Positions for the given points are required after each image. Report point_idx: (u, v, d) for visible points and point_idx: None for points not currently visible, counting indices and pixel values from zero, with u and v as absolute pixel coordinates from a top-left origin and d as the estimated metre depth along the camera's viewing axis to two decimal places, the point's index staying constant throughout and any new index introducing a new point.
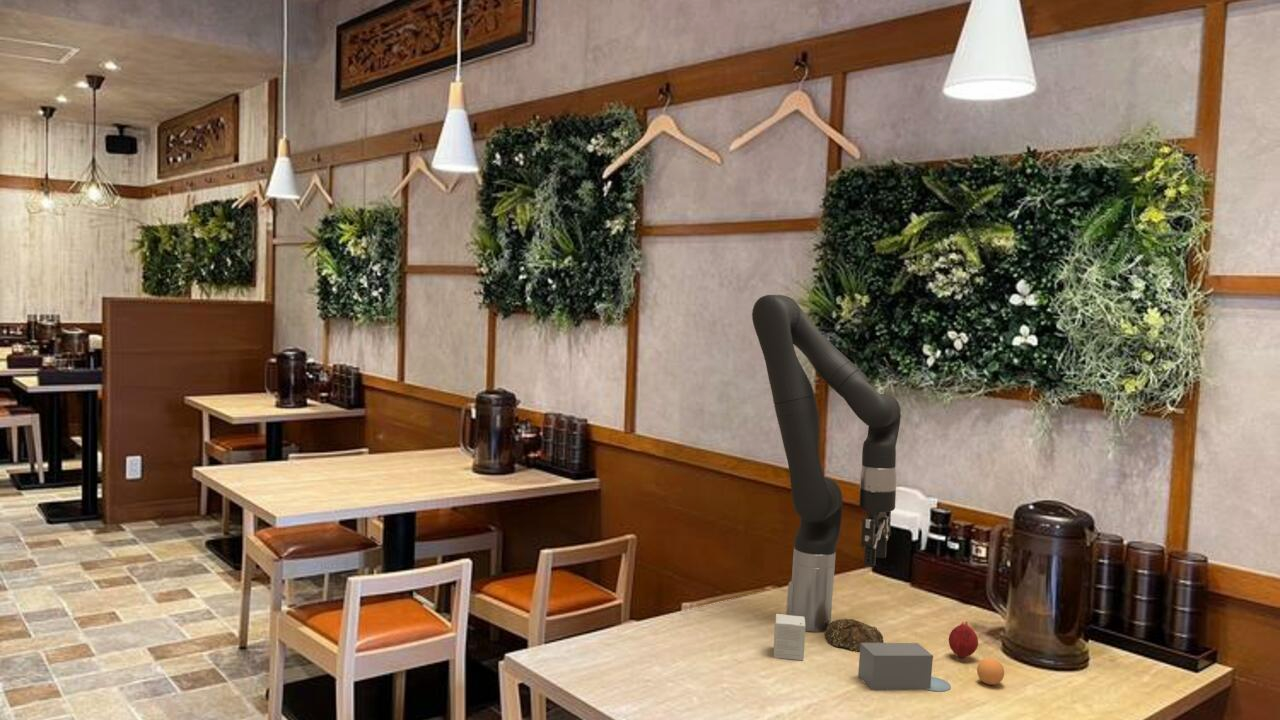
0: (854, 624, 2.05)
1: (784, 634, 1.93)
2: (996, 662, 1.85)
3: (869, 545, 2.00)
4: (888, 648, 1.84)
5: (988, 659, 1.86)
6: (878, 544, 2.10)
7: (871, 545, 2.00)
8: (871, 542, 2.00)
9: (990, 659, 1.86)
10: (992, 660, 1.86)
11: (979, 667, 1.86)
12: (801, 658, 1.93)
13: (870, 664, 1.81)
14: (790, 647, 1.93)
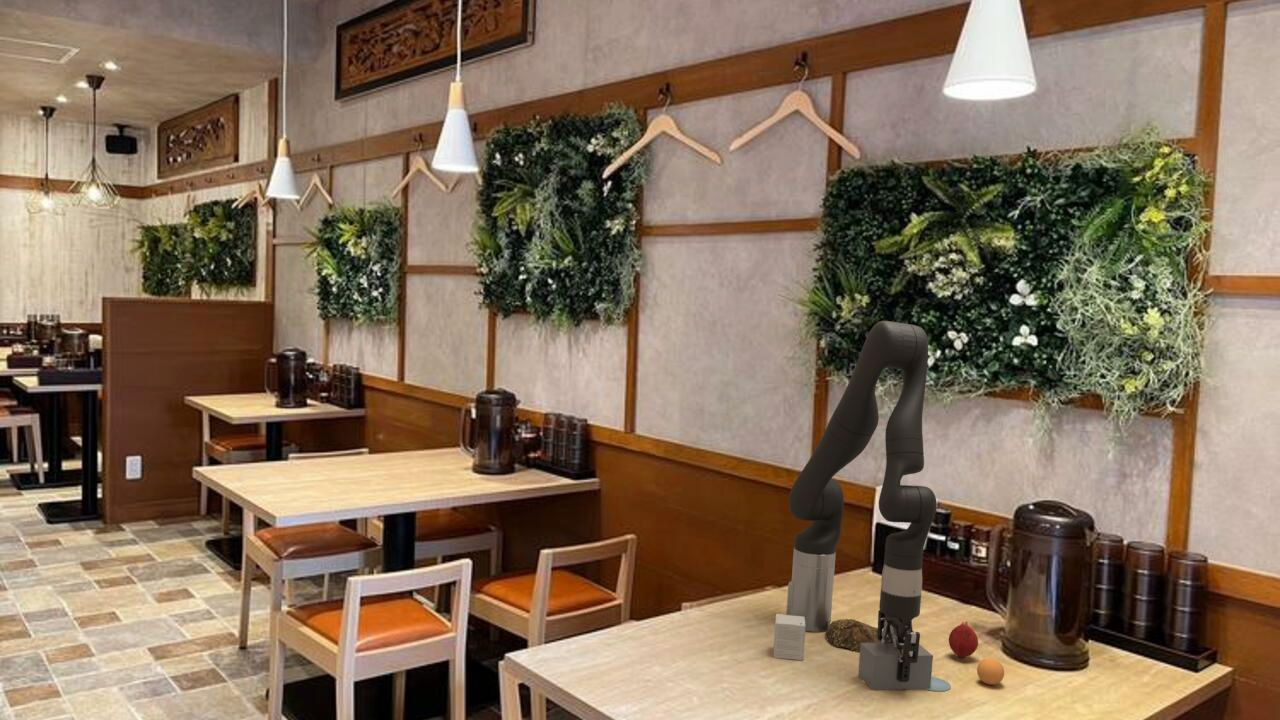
0: (855, 624, 2.05)
1: (784, 634, 1.93)
2: (996, 662, 1.85)
3: None
4: (888, 648, 1.84)
5: (988, 659, 1.86)
6: None
7: None
8: None
9: (990, 659, 1.86)
10: (992, 660, 1.86)
11: (979, 667, 1.86)
12: (801, 658, 1.93)
13: (870, 664, 1.81)
14: (790, 647, 1.93)
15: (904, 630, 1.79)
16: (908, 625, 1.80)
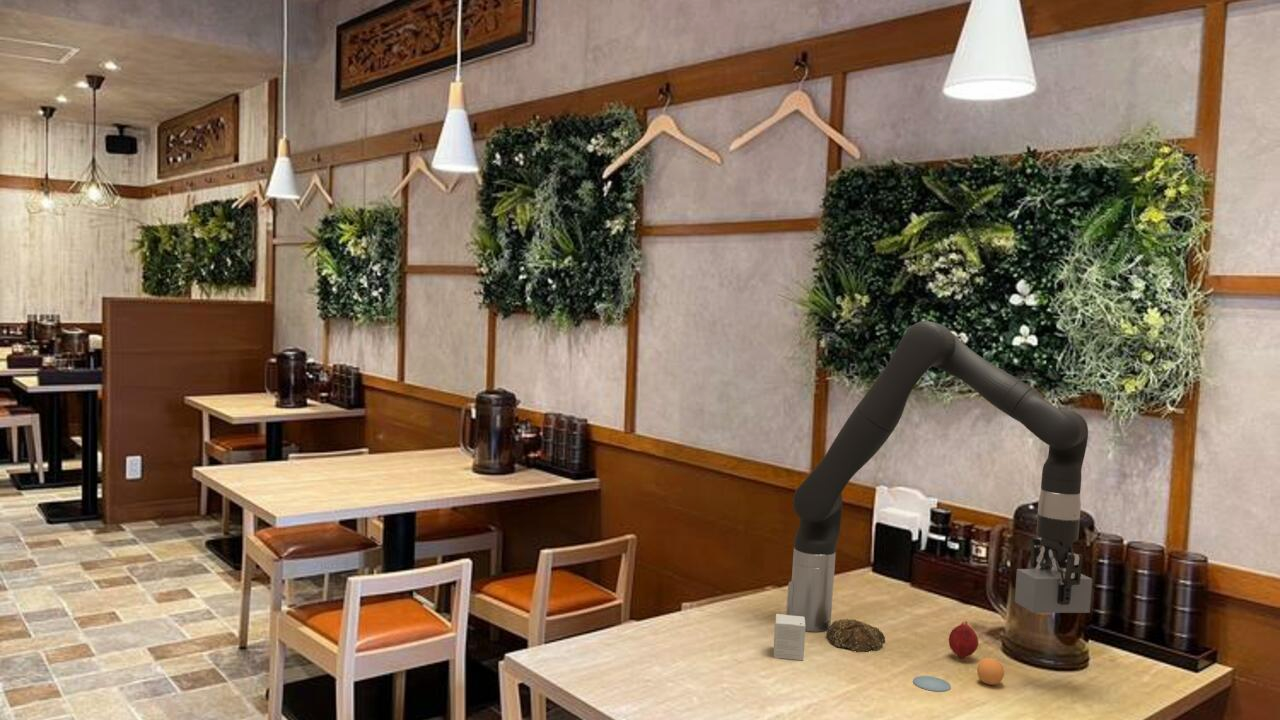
0: (856, 624, 2.05)
1: (784, 634, 1.93)
2: (996, 662, 1.85)
3: None
4: (1046, 573, 1.87)
5: (988, 659, 1.86)
6: None
7: None
8: None
9: (990, 659, 1.86)
10: (992, 660, 1.86)
11: (979, 667, 1.86)
12: (801, 658, 1.93)
13: (1030, 588, 1.84)
14: (790, 647, 1.93)
15: (1065, 553, 1.82)
16: (1069, 548, 1.83)
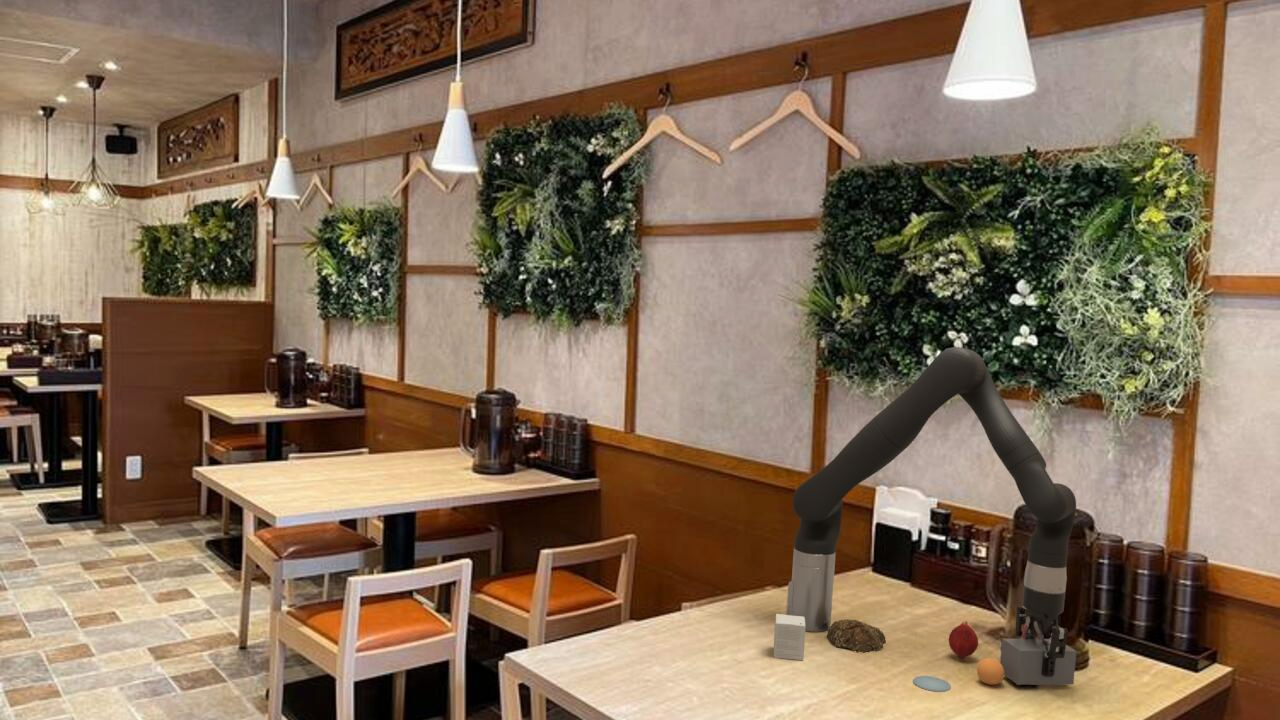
0: (857, 625, 2.05)
1: (784, 634, 1.93)
2: (996, 662, 1.85)
3: None
4: (1031, 644, 1.88)
5: (988, 659, 1.86)
6: None
7: None
8: None
9: (990, 659, 1.86)
10: (992, 660, 1.86)
11: (979, 667, 1.86)
12: (801, 658, 1.93)
13: (1015, 659, 1.85)
14: (790, 647, 1.93)
15: (1050, 626, 1.84)
16: (1054, 621, 1.84)
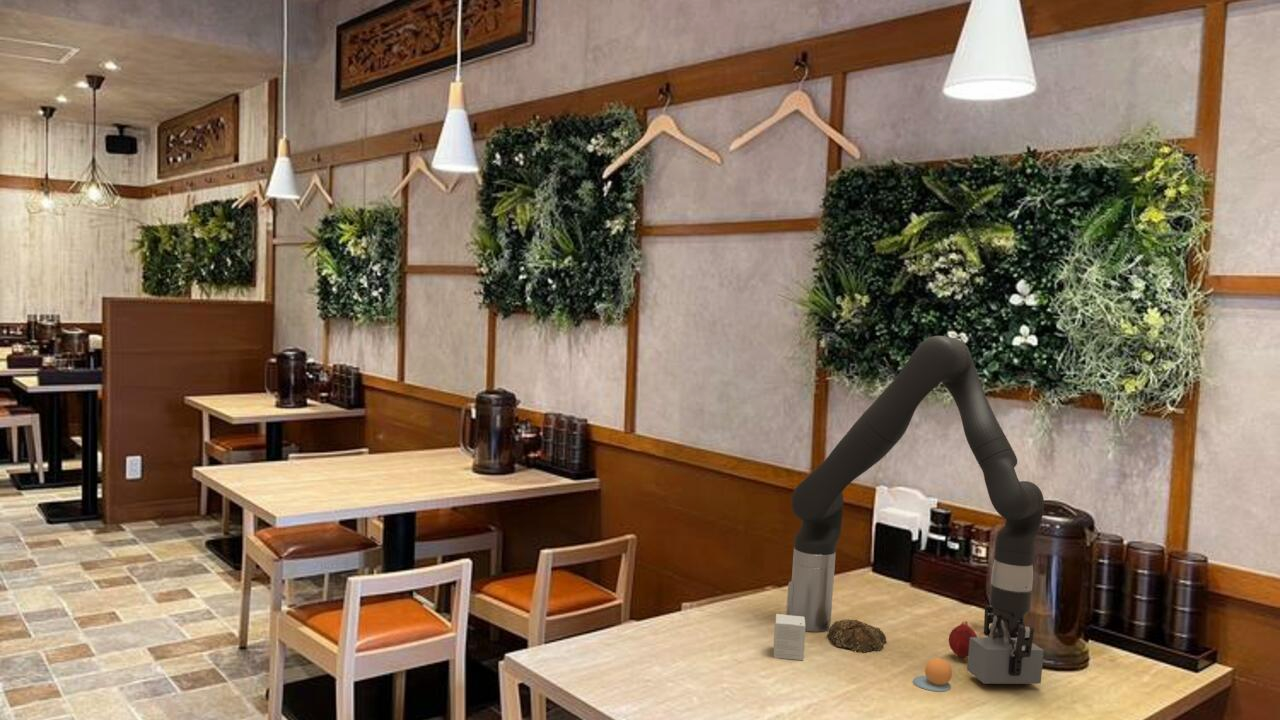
0: (857, 625, 2.05)
1: (784, 634, 1.93)
2: (949, 680, 1.84)
3: None
4: (998, 642, 1.87)
5: None
6: None
7: None
8: None
9: None
10: None
11: (947, 662, 1.85)
12: (801, 658, 1.93)
13: (982, 658, 1.84)
14: (790, 647, 1.93)
15: (1017, 625, 1.82)
16: (1020, 620, 1.83)
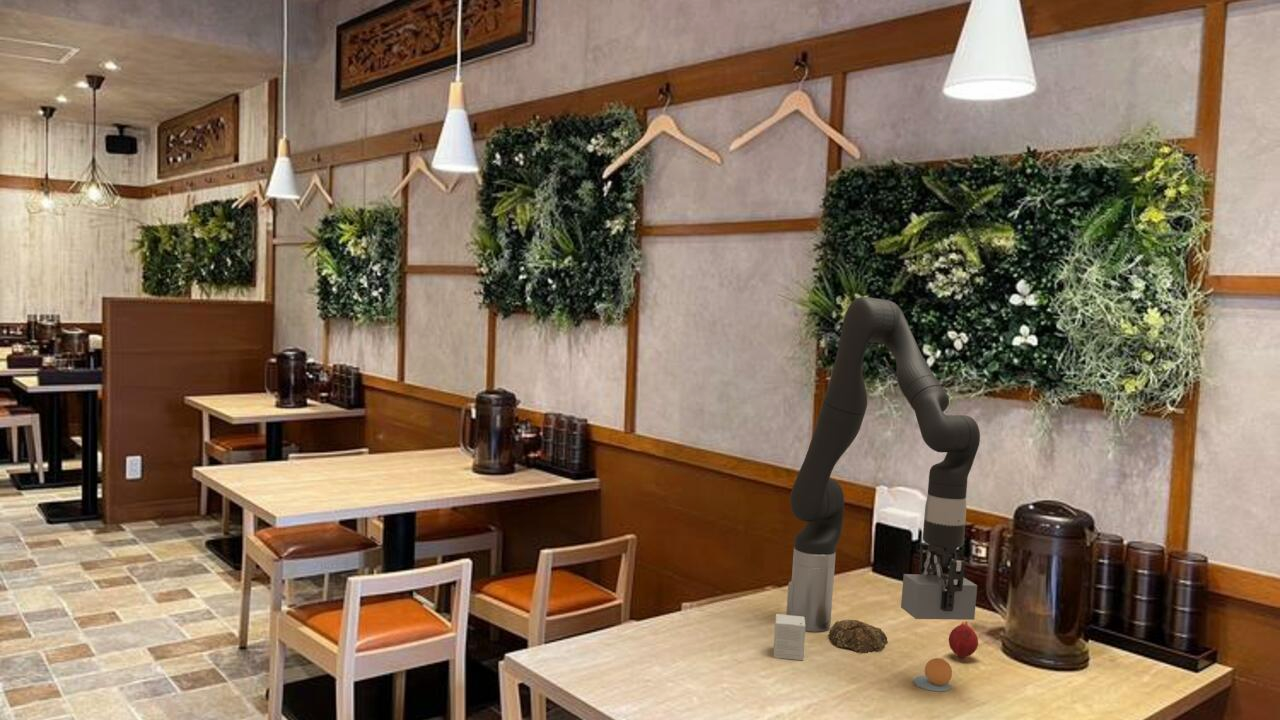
0: (858, 625, 2.05)
1: (784, 634, 1.93)
2: (949, 680, 1.84)
3: None
4: (932, 579, 1.84)
5: None
6: None
7: None
8: None
9: None
10: None
11: (947, 662, 1.85)
12: (801, 658, 1.93)
13: (914, 594, 1.81)
14: (790, 647, 1.93)
15: (949, 559, 1.79)
16: (952, 554, 1.80)
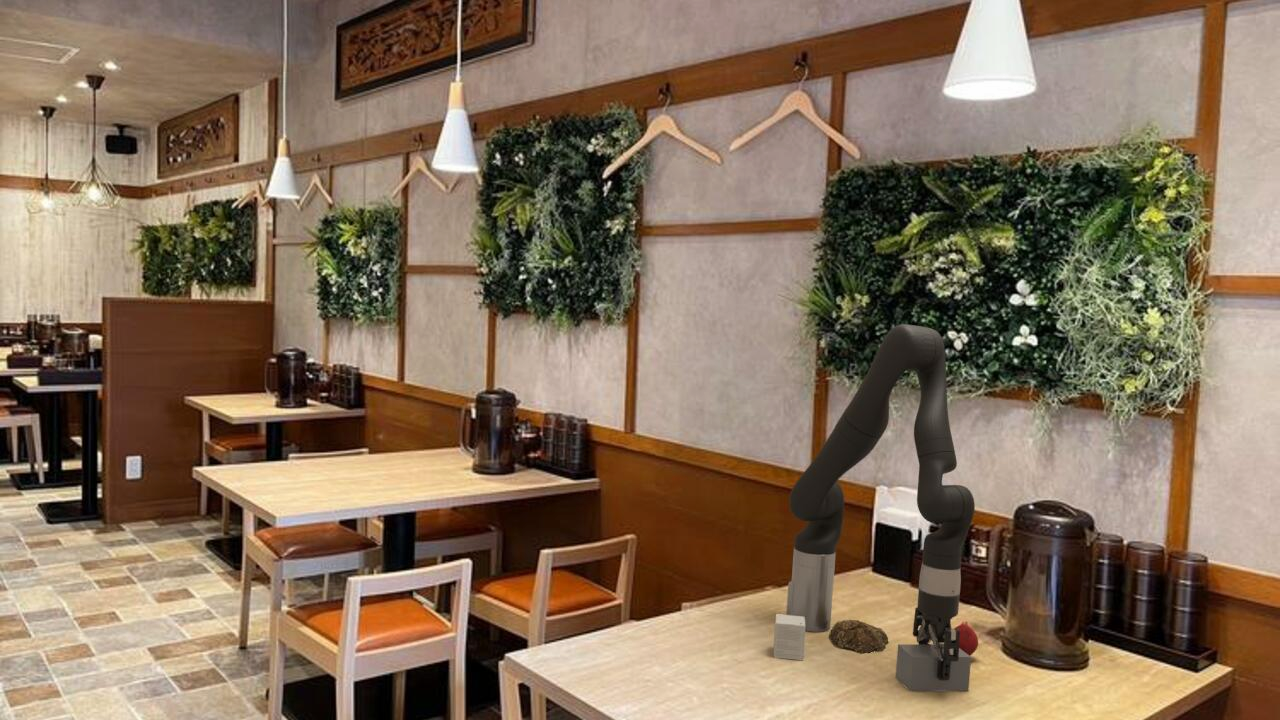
0: (859, 625, 2.04)
1: (784, 634, 1.93)
2: None
3: None
4: (926, 650, 1.84)
5: None
6: None
7: None
8: None
9: None
10: None
11: None
12: (801, 658, 1.93)
13: (908, 666, 1.82)
14: (790, 647, 1.93)
15: (943, 629, 1.80)
16: (947, 624, 1.80)
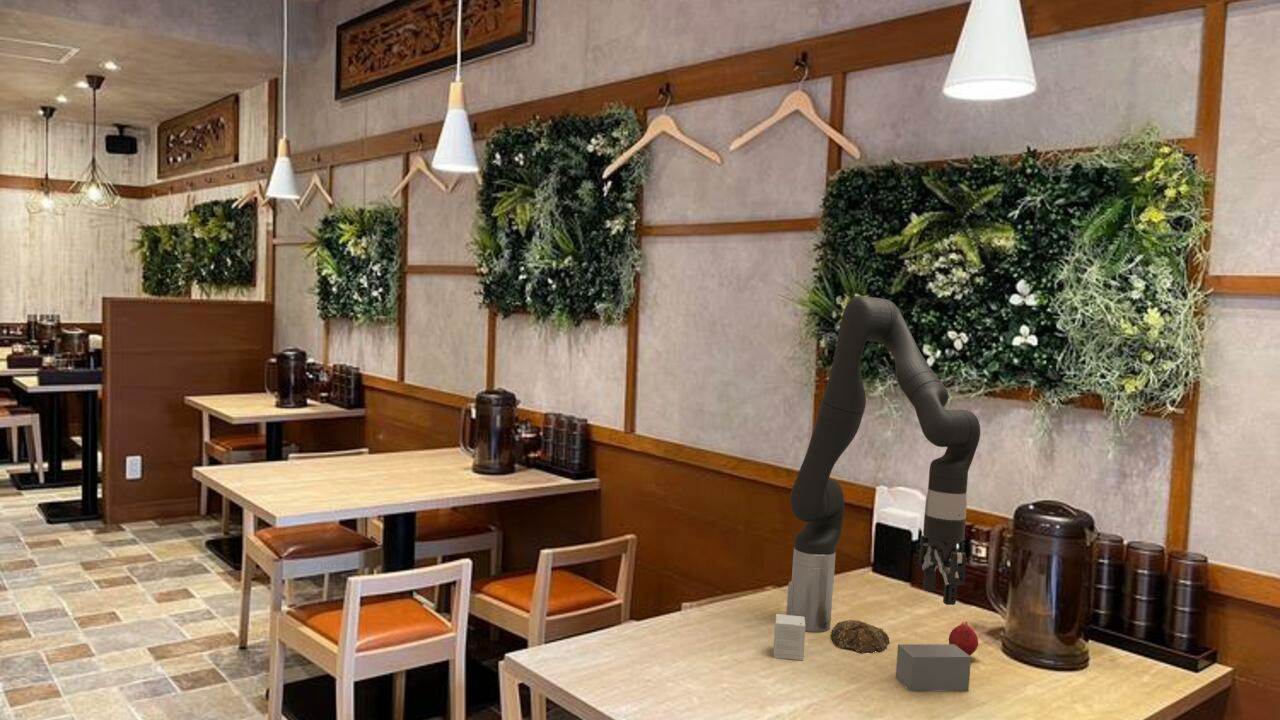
0: (860, 625, 2.04)
1: (784, 634, 1.93)
2: None
3: None
4: (926, 650, 1.84)
5: None
6: None
7: None
8: None
9: None
10: None
11: None
12: (801, 658, 1.93)
13: (908, 666, 1.82)
14: (790, 647, 1.93)
15: (949, 553, 1.79)
16: (953, 548, 1.80)
